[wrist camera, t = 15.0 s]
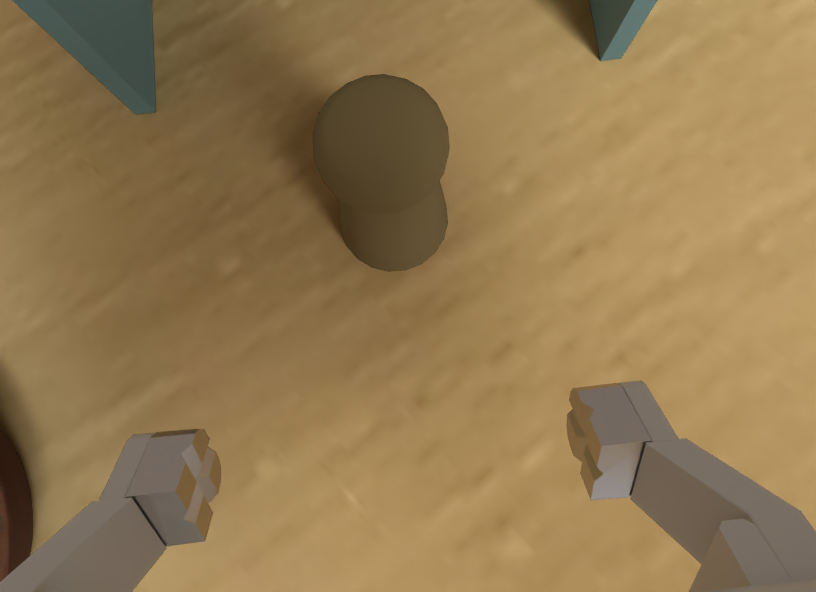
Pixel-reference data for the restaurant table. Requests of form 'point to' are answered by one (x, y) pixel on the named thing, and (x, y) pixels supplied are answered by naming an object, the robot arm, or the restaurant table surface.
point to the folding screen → (134, 52)
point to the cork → (385, 169)
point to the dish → (13, 510)
